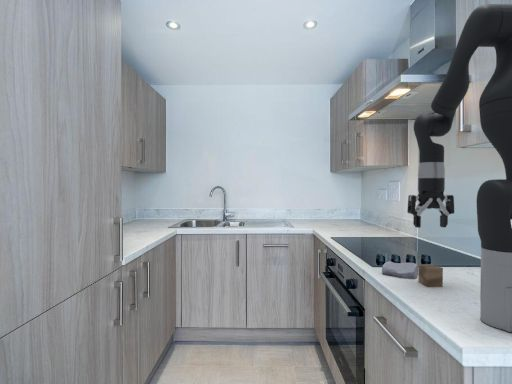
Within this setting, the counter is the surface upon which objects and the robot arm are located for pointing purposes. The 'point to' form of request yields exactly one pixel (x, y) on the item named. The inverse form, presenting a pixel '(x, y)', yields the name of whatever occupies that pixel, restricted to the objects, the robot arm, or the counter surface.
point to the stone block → (401, 270)
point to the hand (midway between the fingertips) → (430, 227)
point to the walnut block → (430, 275)
